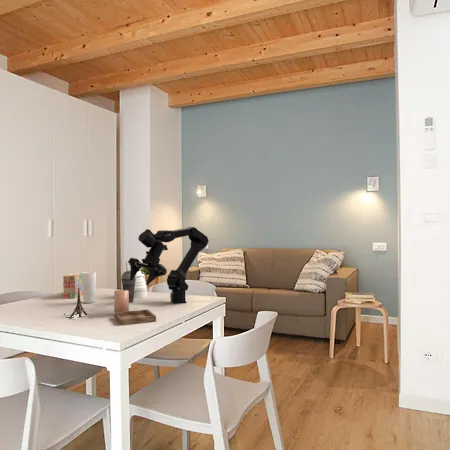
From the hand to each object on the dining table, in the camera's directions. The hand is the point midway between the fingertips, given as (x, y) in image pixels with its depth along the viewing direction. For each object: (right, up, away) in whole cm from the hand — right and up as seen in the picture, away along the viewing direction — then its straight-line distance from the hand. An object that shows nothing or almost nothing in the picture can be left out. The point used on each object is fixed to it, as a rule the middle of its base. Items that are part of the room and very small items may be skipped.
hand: (138, 282), depth 179 cm
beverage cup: (-9, -13, +20) cm, 26 cm away
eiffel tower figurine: (-24, -13, -9) cm, 29 cm away
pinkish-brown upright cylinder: (-6, -12, -7) cm, 16 cm away
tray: (+2, -12, -17) cm, 21 cm away
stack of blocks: (-43, -13, +43) cm, 62 cm away
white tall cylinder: (-29, -13, +20) cm, 38 cm away
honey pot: (-10, -13, +37) cm, 40 cm away
